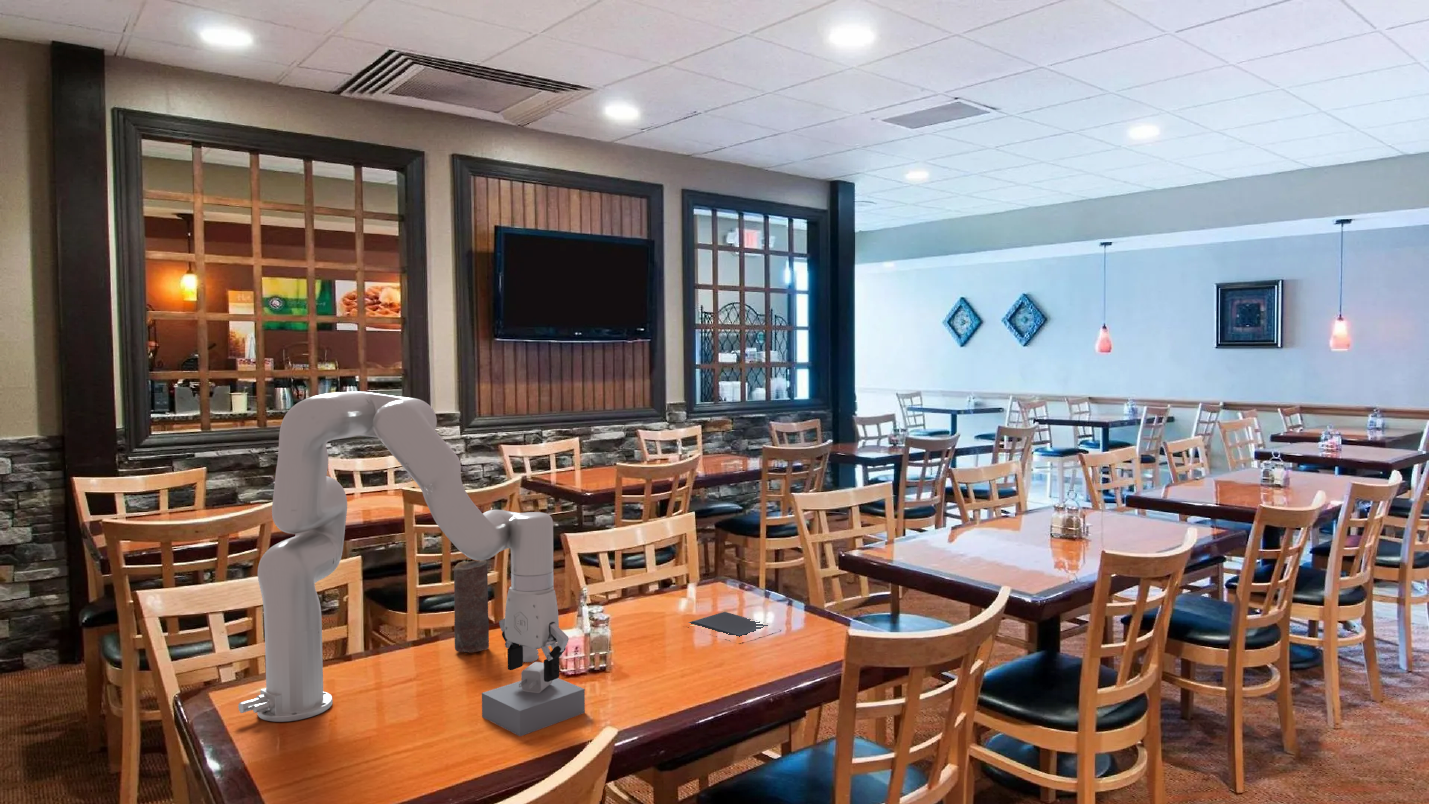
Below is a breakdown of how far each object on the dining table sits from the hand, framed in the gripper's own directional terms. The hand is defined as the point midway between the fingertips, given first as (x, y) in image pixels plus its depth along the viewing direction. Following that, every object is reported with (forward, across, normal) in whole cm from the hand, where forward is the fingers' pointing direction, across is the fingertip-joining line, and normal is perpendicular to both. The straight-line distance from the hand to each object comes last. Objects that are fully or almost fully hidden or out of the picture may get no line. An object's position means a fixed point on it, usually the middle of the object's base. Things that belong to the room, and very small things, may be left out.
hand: (533, 673), depth 162 cm
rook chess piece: (+8, -23, +19) cm, 31 cm away
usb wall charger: (+3, 0, 0) cm, 3 cm away
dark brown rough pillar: (+8, -37, +15) cm, 41 cm away
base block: (+8, 0, 0) cm, 8 cm away
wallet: (+8, -1, +63) cm, 64 cm away
